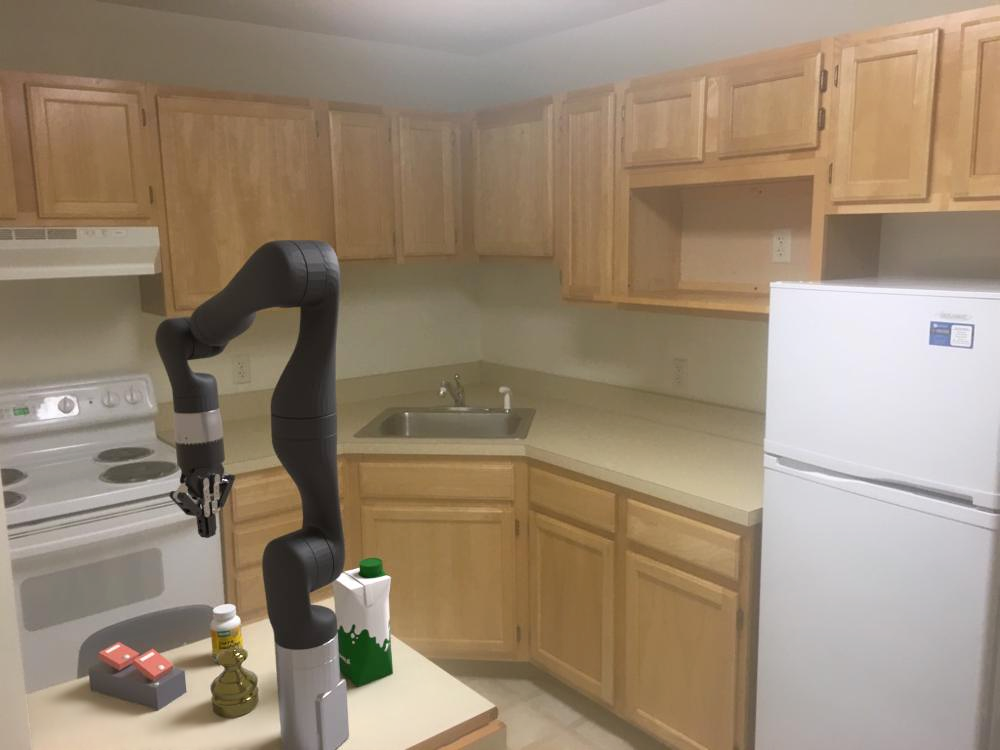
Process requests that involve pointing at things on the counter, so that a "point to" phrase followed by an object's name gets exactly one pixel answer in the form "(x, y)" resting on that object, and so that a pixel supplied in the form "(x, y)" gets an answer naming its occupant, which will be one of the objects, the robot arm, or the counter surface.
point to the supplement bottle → (225, 629)
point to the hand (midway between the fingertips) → (208, 536)
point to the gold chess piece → (234, 685)
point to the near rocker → (152, 665)
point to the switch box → (137, 685)
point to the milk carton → (363, 622)
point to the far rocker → (118, 656)
